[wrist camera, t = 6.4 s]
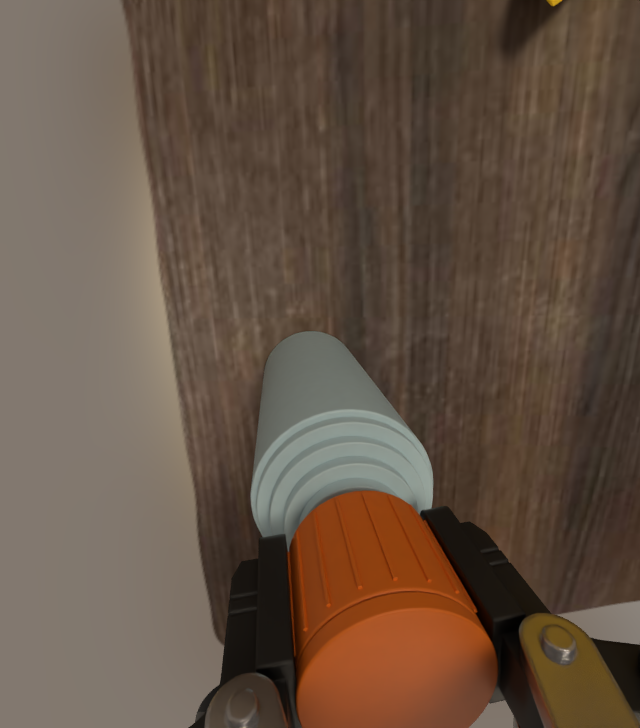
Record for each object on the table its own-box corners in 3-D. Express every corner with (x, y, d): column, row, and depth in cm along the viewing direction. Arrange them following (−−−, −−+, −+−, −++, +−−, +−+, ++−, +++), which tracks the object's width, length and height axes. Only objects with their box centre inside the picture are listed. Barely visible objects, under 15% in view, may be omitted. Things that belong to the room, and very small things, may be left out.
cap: (255, 567, 11) (248, 723, 7) (353, 460, 10) (396, 570, 6) (363, 628, 12) (403, 790, 8) (456, 534, 11) (542, 663, 8)
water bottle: (345, 424, 28) (483, 761, 9) (257, 412, 27) (212, 761, 8) (364, 339, 26) (577, 537, 8) (272, 323, 25) (259, 503, 7)
